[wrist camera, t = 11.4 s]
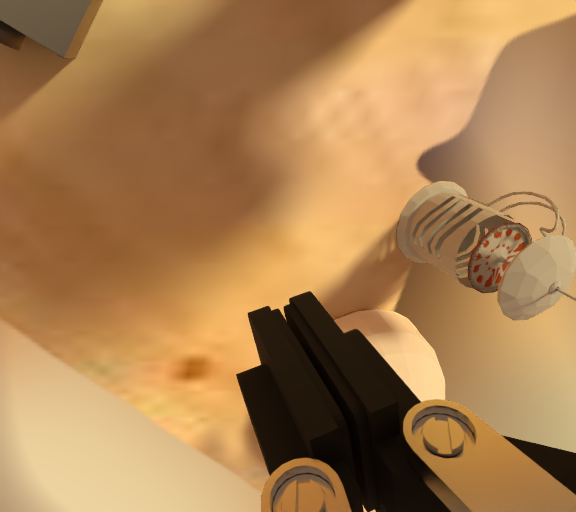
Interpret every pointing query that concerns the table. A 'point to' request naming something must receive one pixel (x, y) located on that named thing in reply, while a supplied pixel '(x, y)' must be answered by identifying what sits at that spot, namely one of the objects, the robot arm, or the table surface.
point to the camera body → (47, 23)
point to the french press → (488, 248)
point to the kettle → (400, 349)
